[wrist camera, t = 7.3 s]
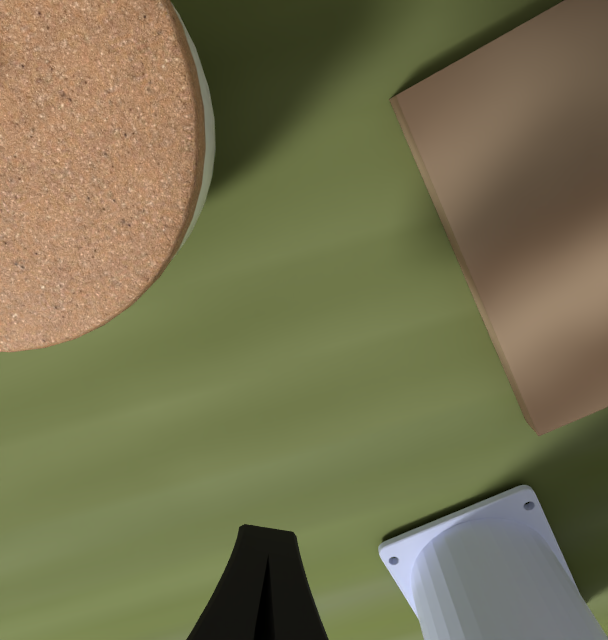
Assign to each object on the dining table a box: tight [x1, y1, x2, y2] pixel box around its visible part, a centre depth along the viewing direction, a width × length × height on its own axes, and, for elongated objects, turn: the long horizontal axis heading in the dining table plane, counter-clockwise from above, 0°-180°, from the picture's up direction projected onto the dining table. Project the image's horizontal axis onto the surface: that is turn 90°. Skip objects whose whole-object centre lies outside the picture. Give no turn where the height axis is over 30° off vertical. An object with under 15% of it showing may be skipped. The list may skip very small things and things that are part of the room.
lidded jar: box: [0, 0, 216, 352], centre depth 13 cm, size 11×11×9 cm
